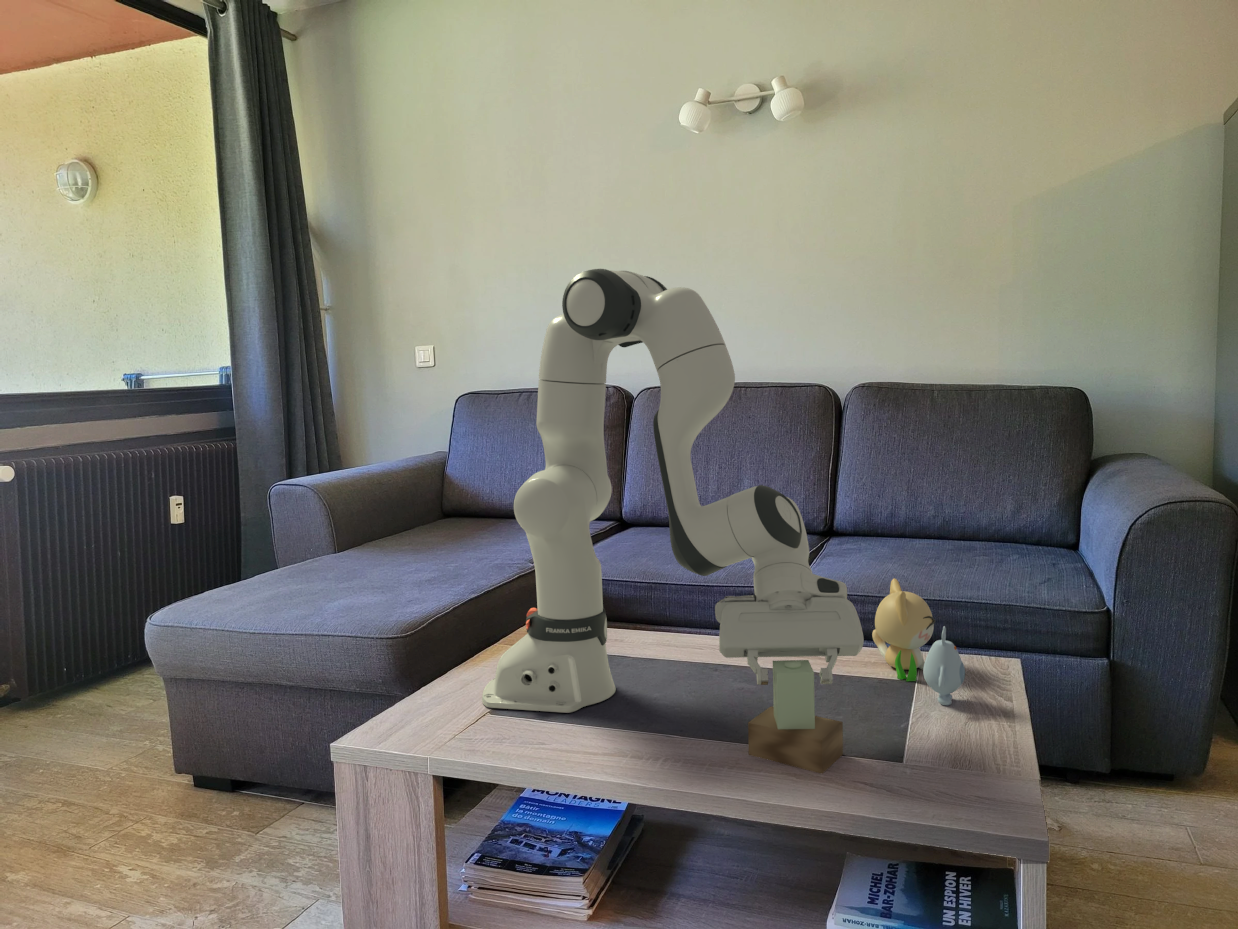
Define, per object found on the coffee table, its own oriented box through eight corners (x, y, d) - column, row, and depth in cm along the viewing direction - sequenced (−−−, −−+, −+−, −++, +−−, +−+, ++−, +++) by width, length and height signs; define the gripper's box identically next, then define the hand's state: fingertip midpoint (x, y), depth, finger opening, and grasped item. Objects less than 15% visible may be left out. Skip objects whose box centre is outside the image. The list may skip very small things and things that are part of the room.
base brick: (748, 756, 124) (748, 722, 123) (771, 739, 129) (770, 706, 129) (822, 775, 117) (821, 739, 117) (843, 756, 123) (842, 721, 122)
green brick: (778, 729, 121) (776, 669, 120) (773, 715, 126) (772, 657, 125) (814, 729, 120) (813, 668, 119) (809, 714, 125) (808, 656, 124)
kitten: (942, 683, 148) (942, 596, 147) (880, 682, 150) (880, 596, 149) (927, 655, 163) (927, 575, 161) (871, 654, 165) (870, 575, 163)
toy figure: (963, 716, 135) (963, 639, 133) (920, 711, 137) (920, 636, 136) (966, 692, 144) (966, 620, 143) (926, 687, 147) (926, 617, 145)
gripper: (714, 585, 129) (719, 673, 120) (857, 583, 127) (872, 671, 119) (713, 607, 133) (718, 693, 125) (851, 605, 132) (865, 691, 123)
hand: (794, 683), depth 122 cm, fingers open, 7 cm apart
